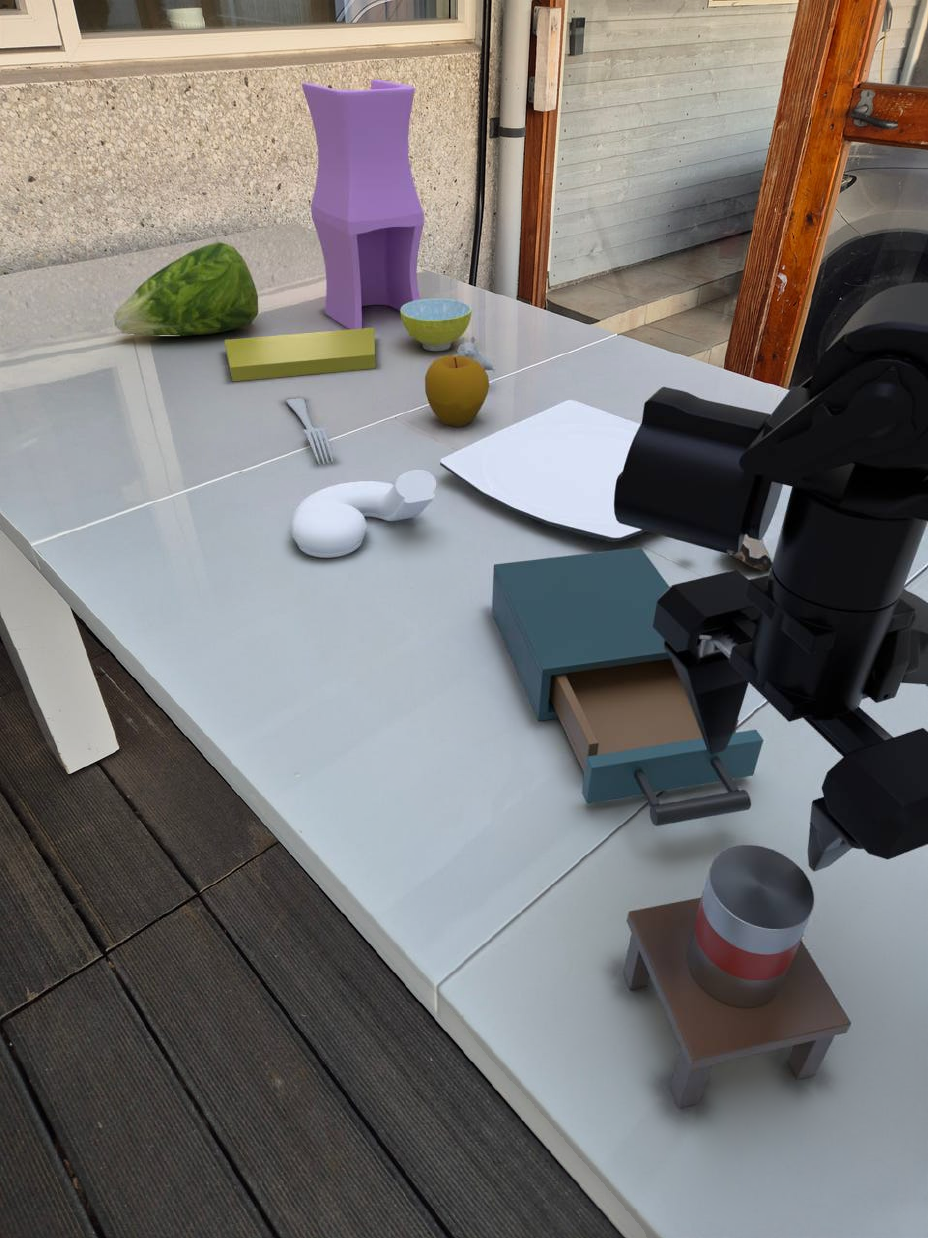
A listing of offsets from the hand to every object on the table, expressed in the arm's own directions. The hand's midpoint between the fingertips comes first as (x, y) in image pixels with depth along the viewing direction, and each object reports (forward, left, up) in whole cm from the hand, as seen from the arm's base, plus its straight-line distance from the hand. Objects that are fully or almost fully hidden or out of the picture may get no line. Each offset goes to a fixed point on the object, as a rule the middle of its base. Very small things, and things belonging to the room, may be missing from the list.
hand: (764, 805), depth 50 cm
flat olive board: (+109, +18, -12) cm, 111 cm away
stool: (-5, +3, -12) cm, 14 cm away
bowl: (+111, -3, -12) cm, 111 cm away
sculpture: (+56, +17, -12) cm, 59 cm away
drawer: (+17, -1, -11) cm, 20 cm away
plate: (+62, -12, -12) cm, 64 cm away
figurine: (+93, -4, -12) cm, 94 cm away
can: (-5, +3, -6) cm, 9 cm away
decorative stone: (+41, -20, -12) cm, 47 cm away
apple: (+82, 0, -12) cm, 83 cm away
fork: (+83, +20, -12) cm, 86 cm away
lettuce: (+125, +36, -12) cm, 130 cm away
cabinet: (+30, -1, -12) cm, 32 cm away
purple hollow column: (+129, +5, -12) cm, 129 cm away
